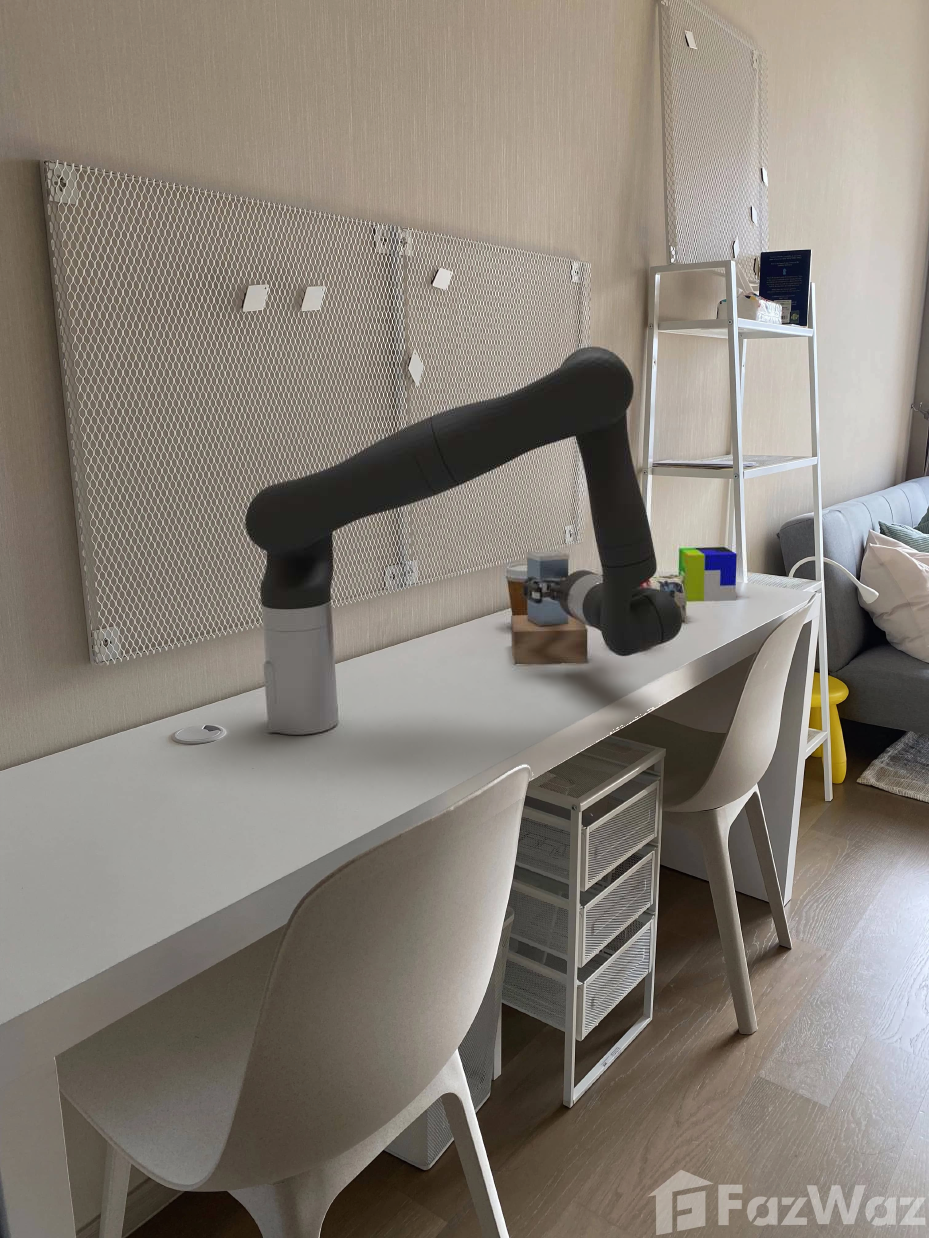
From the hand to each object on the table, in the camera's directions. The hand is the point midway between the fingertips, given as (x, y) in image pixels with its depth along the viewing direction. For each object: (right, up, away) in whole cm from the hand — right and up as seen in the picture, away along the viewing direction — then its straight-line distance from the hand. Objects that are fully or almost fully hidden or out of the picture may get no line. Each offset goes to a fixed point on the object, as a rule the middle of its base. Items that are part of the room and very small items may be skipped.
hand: (553, 580), depth 156 cm
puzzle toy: (+38, -2, +50) cm, 62 cm away
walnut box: (0, -13, +7) cm, 14 cm away
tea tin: (-1, -7, +5) cm, 9 cm away
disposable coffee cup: (-2, -8, +25) cm, 26 cm away
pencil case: (+18, -7, +30) cm, 35 cm away
